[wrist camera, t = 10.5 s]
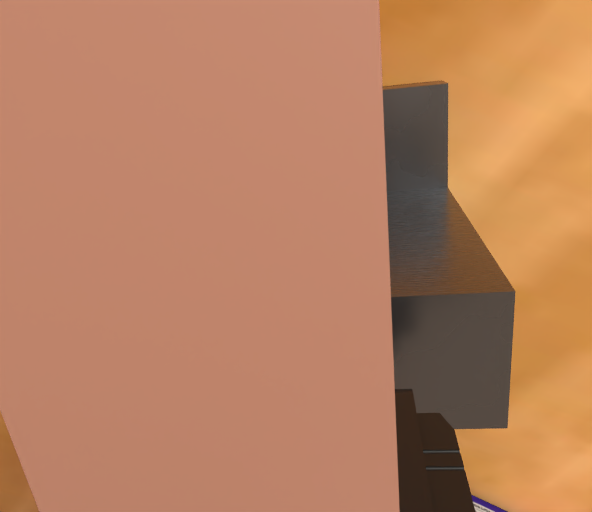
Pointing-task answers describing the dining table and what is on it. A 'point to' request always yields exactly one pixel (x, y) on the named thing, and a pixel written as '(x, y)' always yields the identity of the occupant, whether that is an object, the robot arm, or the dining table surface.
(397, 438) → the robot arm
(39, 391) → the batten
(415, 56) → the dining table surface
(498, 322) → the stand
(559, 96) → the dining table surface
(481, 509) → the supplement box
